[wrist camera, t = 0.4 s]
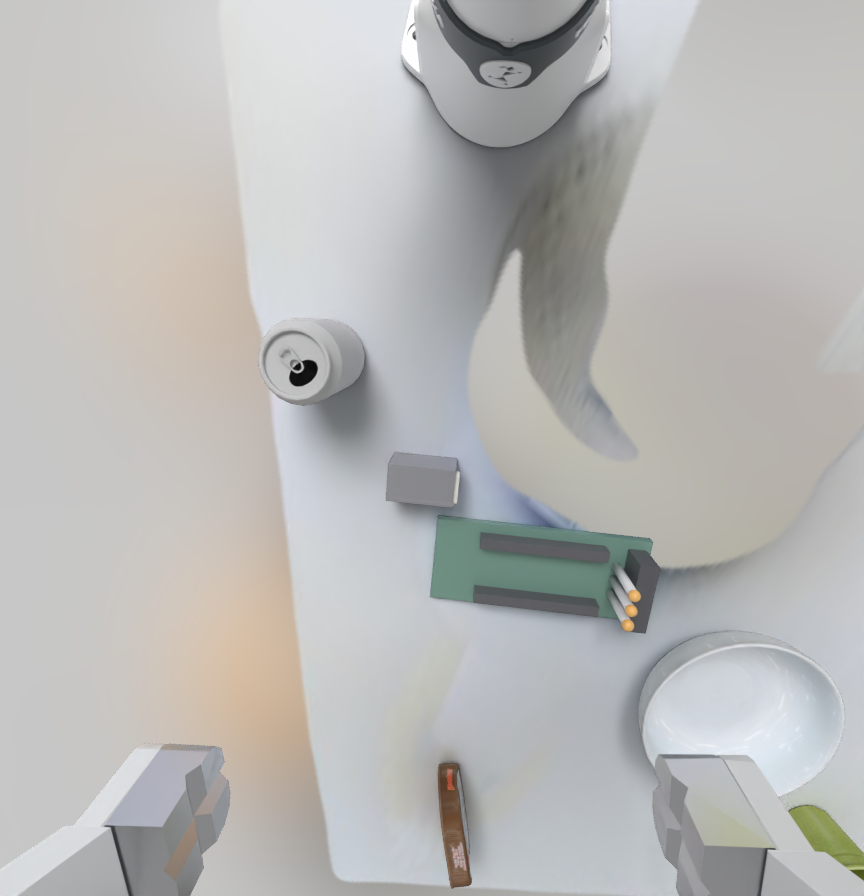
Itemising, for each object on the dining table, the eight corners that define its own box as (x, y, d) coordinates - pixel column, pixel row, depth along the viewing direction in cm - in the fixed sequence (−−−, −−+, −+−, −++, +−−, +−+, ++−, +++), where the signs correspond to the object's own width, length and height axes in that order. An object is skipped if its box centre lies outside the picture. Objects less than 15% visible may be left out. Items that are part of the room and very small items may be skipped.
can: (328, 403, 53) (289, 425, 41) (284, 348, 52) (231, 355, 40) (380, 362, 52) (355, 373, 40) (336, 304, 50) (296, 298, 39)
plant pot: (776, 857, 64) (822, 937, 56) (757, 804, 62) (802, 879, 54) (850, 840, 62) (909, 920, 54) (832, 785, 61) (891, 859, 52)
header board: (438, 515, 55) (433, 545, 48) (649, 538, 54) (679, 573, 47) (430, 592, 58) (425, 632, 50) (632, 615, 57) (658, 661, 49)
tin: (437, 748, 64) (433, 810, 55) (461, 747, 63) (460, 809, 55) (450, 836, 67) (448, 906, 59) (473, 835, 67) (474, 906, 59)
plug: (395, 451, 54) (388, 464, 49) (460, 458, 54) (460, 471, 49) (392, 485, 55) (385, 500, 50) (457, 492, 55) (456, 508, 50)
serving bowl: (810, 740, 59) (853, 792, 53) (637, 764, 62) (657, 816, 55) (796, 592, 55) (841, 629, 48) (609, 625, 57) (628, 664, 51)
